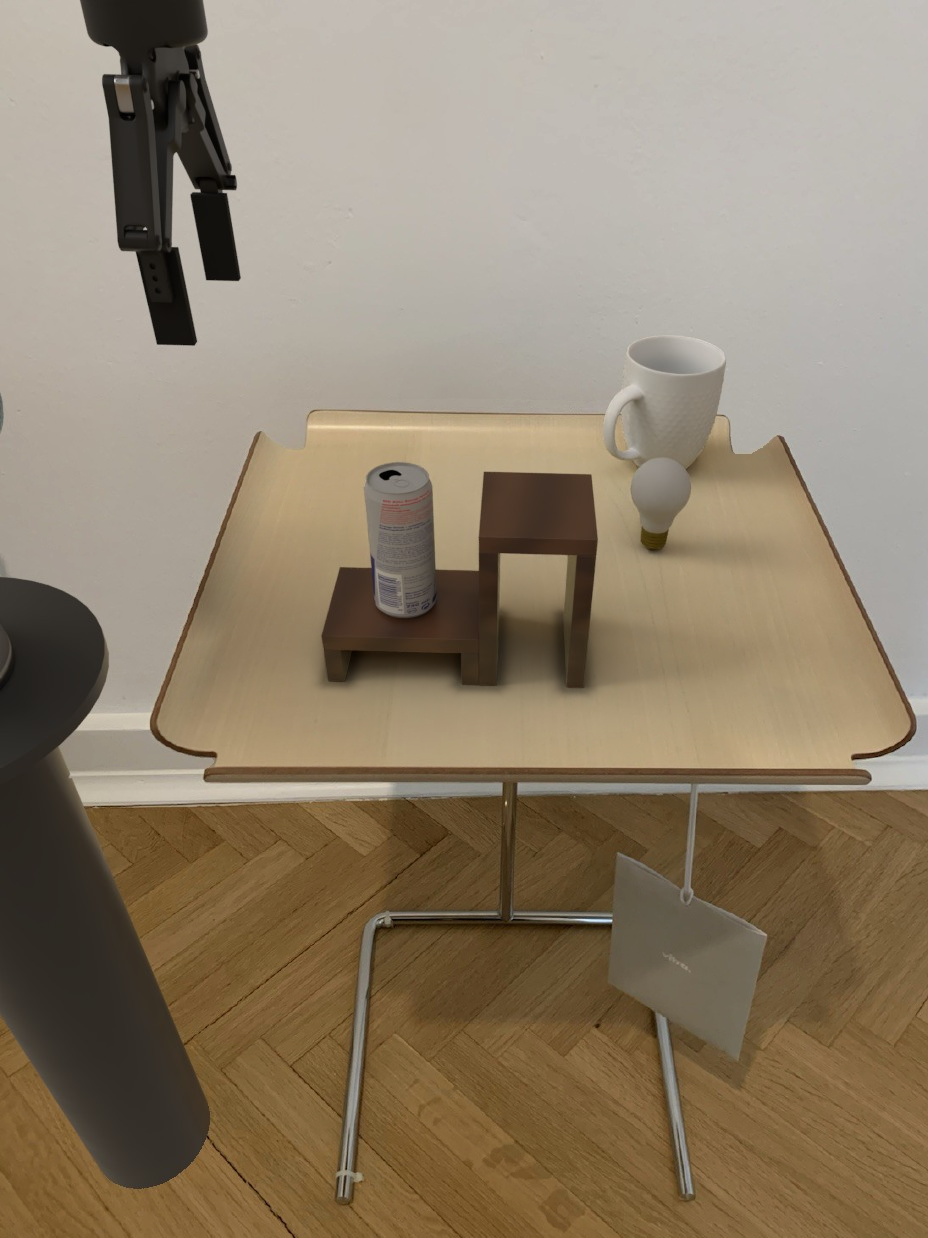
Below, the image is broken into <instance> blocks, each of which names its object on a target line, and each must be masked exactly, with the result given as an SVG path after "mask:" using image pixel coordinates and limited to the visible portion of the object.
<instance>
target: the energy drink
mask: <svg viewBox="0 0 928 1238" xmlns="http://www.w3.org/2000/svg"><path fill="white" fill-rule="evenodd" d="M364 482H365V483H364V486H363V493H364V503H365V514H366V515H365V516H366V527H367V535H368V546H369V547H368V548H369V558H370V566H371V567H370V568H371V569H372V580H373V590H374V600H375V604H376V606H377V607H378V608H379V610H381V611H382V612H384V613H385V614H387V615H389V616H392V617H395V618H413V617H417V616H420V615H422V614H424V613H426V612H427V611H429V610H430V609H431V608H432V607H433V606H434V604H435V602H436V599H437V589H436V570H437V568H436V565H437V564H436V541H435V521H434V520H435V518H434V494H433V492H434V491H433V483H432V481H431V479H430V474H429V472H428V471H427V470H426V469H425V468H424V467H422V466H421V465H418V464H416V463H411V462H406V461H405V462H404V461H396V462H386V463H383V464H380V465H377V466H375V467H373V468H372V469H370V470H369V471H368V472H367V474H366V476H365V481H364Z"/></svg>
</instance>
